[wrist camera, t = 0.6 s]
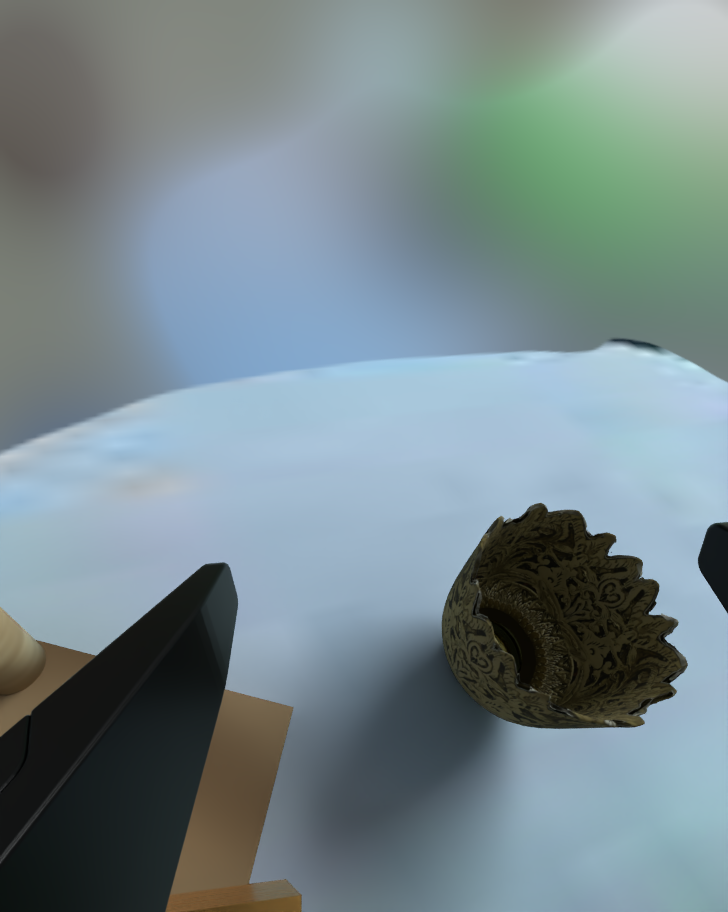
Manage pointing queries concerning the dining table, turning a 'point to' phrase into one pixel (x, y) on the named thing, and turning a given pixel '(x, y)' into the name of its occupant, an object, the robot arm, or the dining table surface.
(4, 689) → the dowel pin
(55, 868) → the robot arm
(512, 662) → the cup
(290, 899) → the flange plate
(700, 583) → the dining table surface
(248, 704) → the post board
